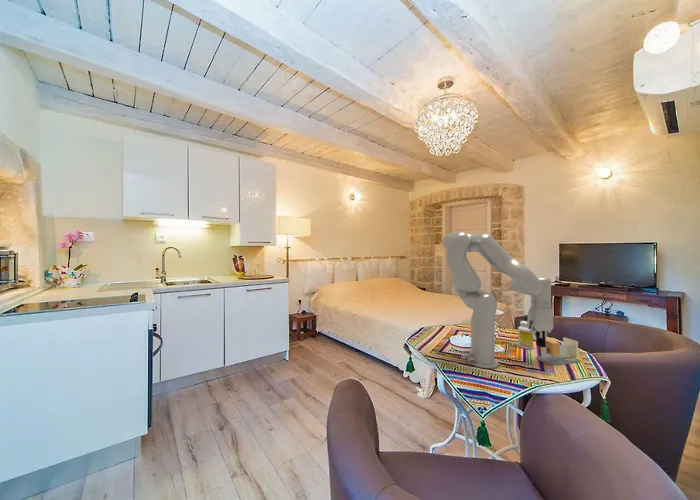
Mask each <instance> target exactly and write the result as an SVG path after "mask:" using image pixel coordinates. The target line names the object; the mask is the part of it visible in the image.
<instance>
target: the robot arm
mask: <svg viewBox="0 0 700 500" xmlns="http://www.w3.org/2000/svg"><path fill="white" fill-rule="evenodd" d="M442 245H443V246H442V247H443V248H444V249H445V250H446V255H445V256H446V257H445V258H446V263H447V266H448V268H449V270H450V271H451V273H452V276H451V278H450V281H451V284H452V287H453V288H454V290H455V291H456V294H457V295H458V296H459V298H460V299H461V301H462V302H463V303H464V305H465V306H466V307H467V308H469V309H472V315H471V319H470V351H468V353H467V354H461V356H460V357H461V359H462V360H466V361H467V363H468V364H470V365H471V366H474V367H477V368H482V369H496V368H498V367H499V361H498V360H497V359H495V358H496V357H495V356H496V355H495V351H496V349H495V348H496V347H495V345H496V344H495V342H496V341H495V339H496V337H495V335H496V334H495V333H496V330H495V326H496V325H495V324H496V323H495V322H496V314H497V308H498V301H497V299H496V297H495V296H494V295H493V294H491V292H487V291H485V290H480V289H481V287H482V280H481V278H480V277H479V275H478V273H477V272H476V270H475V269H474V267H473V266H472V264H471V262H470V261H469V259H468V255H467V253H479V255H481V257H483V259H484V260H485V261H486V262H487V263H488V264H489V265H490V266H491V268H493V269H494V270H496V271H497V272H499V273H501V274H504V275H506V276H508V277H510V278H511V280H510V281H509V282H510V283H509V286H510V289H511V290H512V291H514V292H516V293H518V294H522V295H527V296H530V307H529V309H528V313H527V315H528V319H527V328H528V329H530V333H532V334H535V336H536V340H535V343H536V346H538V347H540V348H542V347H546V338H547V337H548V335H549V333H551V332H552V330H553V329H554V315H553V310H552V309H553V308H552V280H551V278H549V277H545V276H537V275H536V274H535V273H534V272H533V271H532V270H531V269H530V268H528V267H527V266H526V265H524V264H523V263H521V262H520V261H519V260H517V259H516V258H514V257H513V256H511V255H510V254H509V253H508V252H507V251H506V250H505V248H503V247H502V246H501V244H499V243H498V241H497V240H496V239H495V238H494V237H493V236H492V235H491V234H489V233H475V234H473V233H472V234H469V233H466V232H464V231H455V232H450V233H446V234H445V235H444V236H443V238H442ZM538 332H539V333H538Z"/></svg>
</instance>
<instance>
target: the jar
mask: <svg viewBox="0 0 700 500" xmlns="http://www.w3.org/2000/svg"><path fill="white" fill-rule="evenodd" d="M522 317H523V318H522V319H523V321H527V319H528V314H525V315H523V316H522ZM538 333H539V332H538ZM534 340H535V341H536V336H535V334H533V341H534Z"/></svg>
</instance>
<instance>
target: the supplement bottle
mask: <svg viewBox="0 0 700 500" xmlns="http://www.w3.org/2000/svg"><path fill="white" fill-rule="evenodd" d="M519 324H520V325H519V326H518V327H517V345H518V347H519V348H521V349H525V350H531V349H533V348H534V340H533V334H532V333H530V329H528V328H527V321H524V320H520V321H519Z"/></svg>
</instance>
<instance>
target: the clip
mask: <svg viewBox="0 0 700 500" xmlns="http://www.w3.org/2000/svg"><path fill="white" fill-rule="evenodd" d="M560 345H561V343H560V342H558V341H555V340H552V339H549V338H548V339H546V347H548V348H550V355H551V356H559V355H560ZM541 353H543V347H541Z"/></svg>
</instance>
